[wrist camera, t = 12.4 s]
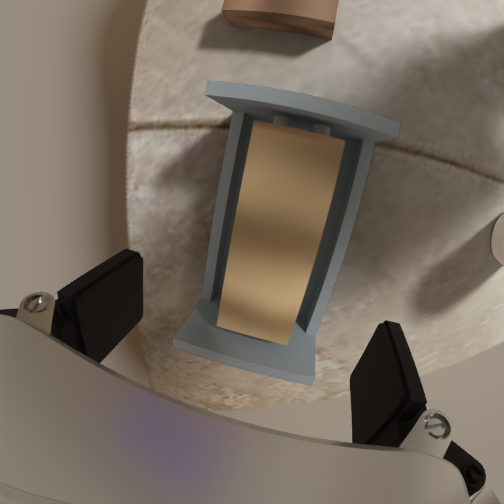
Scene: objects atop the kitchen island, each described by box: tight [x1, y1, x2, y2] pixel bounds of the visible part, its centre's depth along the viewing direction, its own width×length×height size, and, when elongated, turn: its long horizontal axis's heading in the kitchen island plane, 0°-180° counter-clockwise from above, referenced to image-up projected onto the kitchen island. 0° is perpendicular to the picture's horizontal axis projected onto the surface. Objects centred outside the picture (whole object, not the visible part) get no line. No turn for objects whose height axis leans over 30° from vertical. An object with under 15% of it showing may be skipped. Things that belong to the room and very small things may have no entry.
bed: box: [173, 80, 401, 386], centre depth 22 cm, size 12×20×10 cm, turn 169°
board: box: [217, 121, 345, 345], centre depth 21 cm, size 16×6×3 cm, turn 169°
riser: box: [221, 0, 338, 40], centre depth 18 cm, size 10×4×4 cm, turn 79°
